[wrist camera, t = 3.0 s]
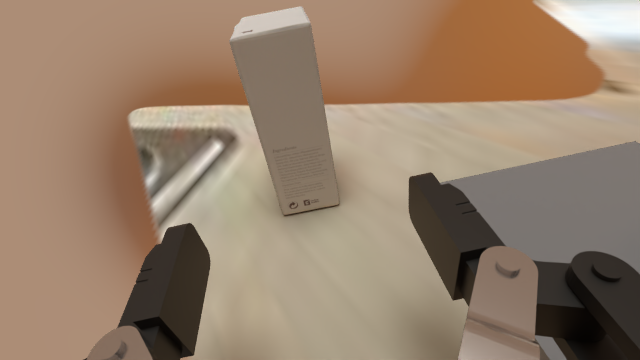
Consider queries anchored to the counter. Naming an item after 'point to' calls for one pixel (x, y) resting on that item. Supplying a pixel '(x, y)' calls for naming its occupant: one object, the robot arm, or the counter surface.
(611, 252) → the slate tile
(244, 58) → the skincare box
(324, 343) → the counter surface
